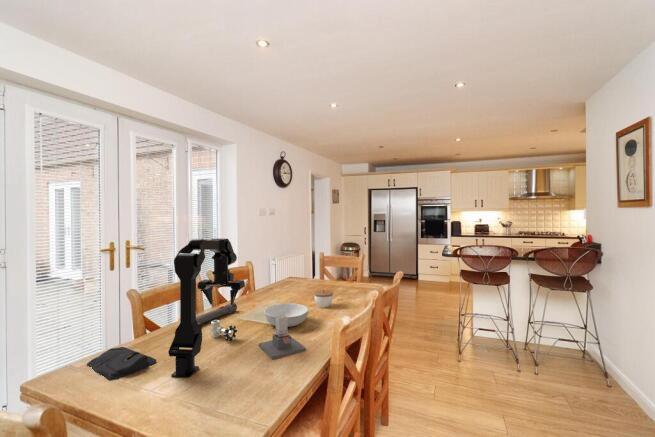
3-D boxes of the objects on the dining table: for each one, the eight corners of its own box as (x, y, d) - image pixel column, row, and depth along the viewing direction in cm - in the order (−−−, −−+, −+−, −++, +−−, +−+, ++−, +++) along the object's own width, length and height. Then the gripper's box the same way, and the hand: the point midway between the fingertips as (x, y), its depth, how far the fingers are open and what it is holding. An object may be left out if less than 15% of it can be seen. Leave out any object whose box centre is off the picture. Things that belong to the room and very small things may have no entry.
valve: (206, 338, 135) (225, 344, 129) (205, 322, 135) (224, 328, 129) (218, 332, 141) (237, 338, 134) (218, 318, 140) (237, 323, 134)
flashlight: (187, 327, 148) (187, 317, 148) (230, 310, 173) (230, 301, 173) (195, 329, 145) (195, 318, 145) (237, 311, 171) (237, 302, 171)
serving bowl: (256, 329, 144) (256, 315, 144) (275, 315, 164) (275, 302, 164) (300, 333, 139) (300, 318, 139) (313, 318, 159) (313, 304, 159)
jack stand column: (279, 347, 122) (279, 318, 121) (275, 344, 125) (275, 316, 125) (287, 345, 124) (287, 317, 123) (284, 342, 127) (283, 314, 126)
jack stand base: (271, 359, 115) (271, 345, 114) (258, 345, 126) (258, 332, 126) (305, 350, 122) (305, 337, 122) (290, 338, 134) (290, 325, 134)
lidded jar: (311, 304, 182) (311, 288, 181) (328, 302, 186) (328, 286, 186) (318, 310, 172) (318, 293, 172) (336, 307, 176) (336, 290, 176)
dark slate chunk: (128, 350, 124) (128, 338, 124) (159, 364, 113) (159, 351, 112) (82, 366, 111) (82, 353, 111) (112, 384, 100) (111, 369, 100)
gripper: (249, 264, 140) (249, 299, 140) (209, 264, 142) (209, 298, 142) (239, 269, 129) (240, 307, 129) (196, 269, 131) (197, 306, 131)
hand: (221, 304), depth 133 cm, fingers open, 9 cm apart
